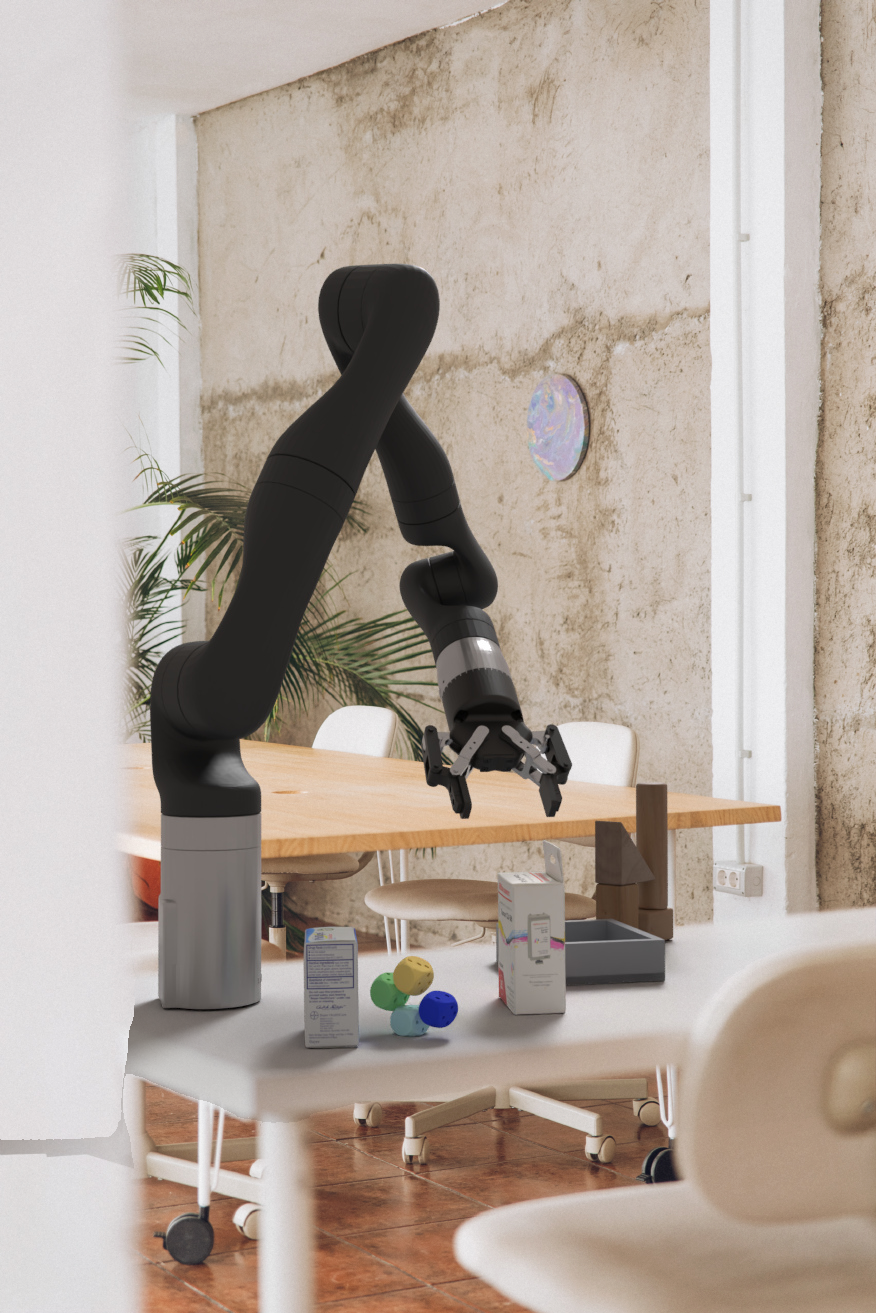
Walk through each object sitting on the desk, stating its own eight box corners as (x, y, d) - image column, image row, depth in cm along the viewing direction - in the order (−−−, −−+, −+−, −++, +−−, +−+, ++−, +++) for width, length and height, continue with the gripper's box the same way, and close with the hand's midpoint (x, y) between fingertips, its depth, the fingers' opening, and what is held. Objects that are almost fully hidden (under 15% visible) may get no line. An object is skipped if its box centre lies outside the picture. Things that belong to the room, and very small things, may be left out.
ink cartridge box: (495, 997, 149) (494, 839, 149) (547, 995, 150) (546, 838, 150) (512, 1015, 141) (511, 848, 141) (567, 1014, 141) (566, 847, 142)
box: (539, 986, 154) (538, 945, 154) (496, 961, 169) (496, 923, 169) (665, 980, 157) (664, 939, 158) (612, 955, 172) (612, 918, 172)
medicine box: (359, 1048, 128) (359, 940, 128) (303, 1049, 128) (303, 940, 128) (356, 1027, 136) (356, 925, 136) (303, 1028, 135) (303, 926, 136)
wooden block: (594, 947, 178) (594, 785, 178) (647, 936, 186) (647, 781, 186) (622, 951, 175) (621, 787, 176) (674, 939, 183) (674, 782, 184)
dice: (461, 1037, 132) (461, 959, 132) (442, 1042, 130) (442, 963, 130) (385, 1025, 137) (385, 950, 137) (366, 1030, 135) (366, 954, 135)
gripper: (415, 665, 159) (444, 787, 147) (551, 665, 162) (590, 784, 151) (403, 717, 164) (431, 840, 152) (536, 716, 167) (572, 836, 156)
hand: (510, 812), depth 152 cm, fingers open, 8 cm apart
